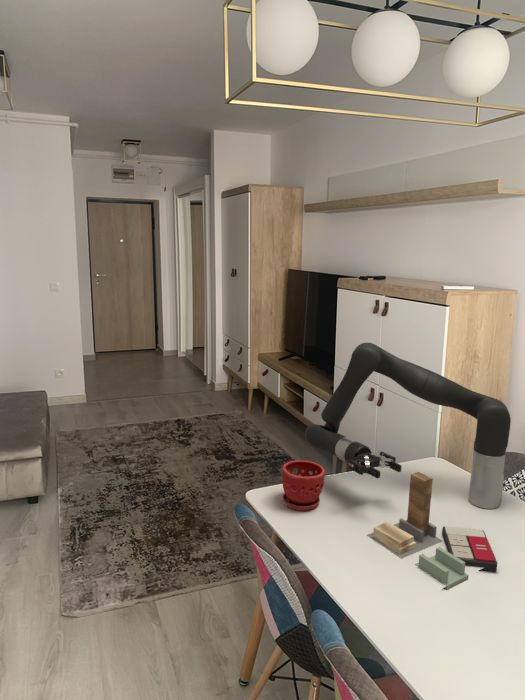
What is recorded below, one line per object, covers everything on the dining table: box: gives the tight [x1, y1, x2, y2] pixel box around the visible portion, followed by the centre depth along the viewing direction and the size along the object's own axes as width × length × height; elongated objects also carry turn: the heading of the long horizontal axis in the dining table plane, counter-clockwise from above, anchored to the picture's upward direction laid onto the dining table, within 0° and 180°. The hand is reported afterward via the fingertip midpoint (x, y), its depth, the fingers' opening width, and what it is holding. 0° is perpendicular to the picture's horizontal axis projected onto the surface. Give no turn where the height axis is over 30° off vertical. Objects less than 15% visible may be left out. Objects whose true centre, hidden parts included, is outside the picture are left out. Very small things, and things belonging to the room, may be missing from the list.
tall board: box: [406, 471, 433, 537], centre depth 149 cm, size 3×5×17 cm, turn 32°
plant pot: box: [281, 459, 326, 511], centre depth 168 cm, size 13×13×12 cm
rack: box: [366, 518, 443, 559], centre depth 148 cm, size 16×13×4 cm
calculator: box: [441, 525, 498, 573], centre depth 143 cm, size 11×4×15 cm
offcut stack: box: [372, 521, 416, 554], centre depth 146 cm, size 6×10×3 cm, turn 32°
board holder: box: [414, 546, 469, 591], centre depth 134 cm, size 8×10×4 cm
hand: (390, 472), depth 157 cm, fingers open, 8 cm apart
